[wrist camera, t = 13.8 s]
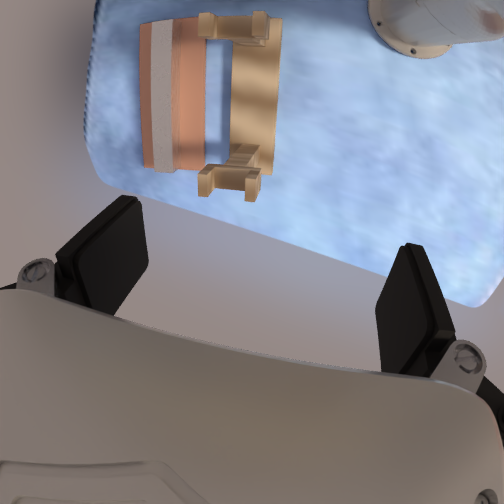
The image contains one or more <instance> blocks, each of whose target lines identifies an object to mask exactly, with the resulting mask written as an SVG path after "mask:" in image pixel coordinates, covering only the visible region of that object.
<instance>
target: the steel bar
mask: <svg viewBox="0 0 504 504" xmlns="http://www.w3.org/2000/svg"><path fill="white" fill-rule="evenodd" d="M181 27H182V22H181V21H178V20H174V19H170V20H162V21H155V22H152V34H151V115H152V138H153V156H154V170H155V172H165V173H174V172H175V171H176V170H178V169H179V168H180V167H181V142H180V55H181Z"/></svg>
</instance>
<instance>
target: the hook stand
mask: <svg viewBox="0 0 504 504" xmlns="http://www.w3.org/2000/svg"><path fill="white" fill-rule="evenodd" d="M198 37H202V38H206V39H210V40H214V39H228V40H231V41H233V56H232V83H231V115H230V158H229V159H228V160H227V161H226V163H225V164H224V165H221V164H207V165H206V166H205V167H204V168H203V169H202V170H201V171H200V172H199V173H198V196H201V197H208V196H209V195H210V193H211V192H212V191H213V190H214V188H220V189H230V190H240V191H245V201H248V202H255V200H256V198H257V196H258V194H259V191H260V187H261V174H264V175H272V173H273V160H274V146H275V132H276V118H277V103H278V88H279V72H280V55H281V38H282V18H270V17H269V16H268V15H267V13H266V12H265V11H253V16H216V15H214V14H212V13H210V12H206V13H199V23H198Z"/></svg>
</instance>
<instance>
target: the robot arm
mask: <svg viewBox="0 0 504 504" xmlns="http://www.w3.org/2000/svg"><path fill="white" fill-rule="evenodd" d="M368 13H369V17H370V20H371V23H372V25H373V27H374V28H375V30H376V32H377V33H378V34H379V36H380V37H381V38H382V39H383V40H384V41H385V42H386V43H387V44H388V45H389V46H390V47H392V48H393V49H395V50H396V51H398V52H400V53H402V54H404V55H406V56H410V57H413V58H419V59H430V58H436V57H438V56H441V55H443V54H444V53H446V52H447V51H448V50H449V49H450V48H451V47H452V45H453V44H462V43H474V42H487V41H494V40H498V39H500V38H502V37H504V0H368ZM377 23H379V24H380V26H378V25H377ZM410 50H412V51H413V53H411V52H410ZM55 255H56V258H57V262H56V263H55V264H54V263H53V262H52V260H50V259H47V258H40V259H36V260H33V261H31V262H29V263H28V264H26V265H25V266H24V267H23V268H22V269H21V270H20V272H19V274H18V278H17V283H14V284H11V285H8V286H5V287H2V288H0V504H504V394H503V393H502V392H501V391H500V390H499V389H498V388H497V387H496V386H495V385H494V384H493V383H491V382H490V381H489V380H488V379H487V378H486V377H485V376H484V374H485V371H486V367H487V366H486V360H485V357H484V355H483V353H482V352H481V350H480V349H479V348H478V347H477V346H476V345H475V344H473V343H471V342H470V341H466V340H456V336H455V328H454V325H453V322H452V319H451V316H450V313H449V311H448V308H447V305H446V302H445V299H444V297H443V294H442V291H441V289H440V286H439V284H438V281H437V279H436V276H435V274H434V271H433V269H432V266H431V264H430V262H429V259H428V257H427V255H426V252H425V250H424V248H423V246H421V245H416V244H412V243H406V245H405V246H401V247H400V248H399V251H398V253H397V256H396V258H395V261H394V263H393V266H392V268H391V271H390V273H389V276H388V278H387V280H386V283H385V285H384V288H383V290H382V292H381V294H380V297H379V299H378V301H377V304H376V308H375V314H376V321H377V330H378V339H379V349H380V360H381V372H376V371H368V370H361V369H353V368H346V367H339V366H332V365H325V364H318V363H312V362H306V361H300V360H294V359H289V358H283V357H277V356H272V355H267V354H262V353H257V352H252V351H247V350H242V349H237V348H233V347H229V346H224V345H220V344H215V343H211V342H207V341H203V340H198V339H194V338H190V337H186V336H182V335H179V334H175V333H171V332H167V331H164V330H160V329H156V328H153V327H149V326H146V325H142V324H138V323H135V322H131V321H128V320H125V319H122V318H119V317H115V316H114V314H115V313H116V311H117V310H118V309H119V306H121V304H122V303H123V301H124V300H125V298H126V297H127V295H128V294H129V293H130V291H131V290H132V288H133V287H134V285H135V284H136V283H137V281H138V280H139V279H140V277H141V276H142V274H143V273H144V272H145V270H146V268H147V266H148V262H149V259H148V252H147V245H146V237H145V230H144V221H143V213H142V204H141V202H140V201H138V199H137V197H134V196H126V195H121V196H120V197H118V198H117V199H116V200H115V201H114V202H112V203H111V204H110V205H109V206H108V207H106V208H105V209H104V210H103V211H102V212H101V213H99V214H98V215H97V216H96V217H95V218H94V219H92V220H91V221H90V222H89V223H88V224H87V225H86V226H85V227H83V228H82V229H81V230H80V231H79V232H78V233H77V234H76V235H75V236H74V237H73V238H72V239H70V241H68V242H67V243H66V244H65V245H64V246H63V247H62V248H61V249H60V250H59V251H58V252H57V253H56V254H55Z"/></svg>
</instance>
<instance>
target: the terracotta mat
mask: <svg viewBox="0 0 504 504" xmlns="http://www.w3.org/2000/svg"><path fill="white" fill-rule="evenodd" d="M174 20H178V21H181V22H182V27H181V55H180V142H181V167H180V168H179V169H184V170H199V171H201V170H202V169H203V168H204V167H205V67H206V38H202V37H198V23H199V17H190V18H181V19H174ZM151 34H152V23H146V24H140V49H139V74H140V110H141V130H142V145H143V158H144V168H154V156H153V138H152V115H151Z"/></svg>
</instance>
